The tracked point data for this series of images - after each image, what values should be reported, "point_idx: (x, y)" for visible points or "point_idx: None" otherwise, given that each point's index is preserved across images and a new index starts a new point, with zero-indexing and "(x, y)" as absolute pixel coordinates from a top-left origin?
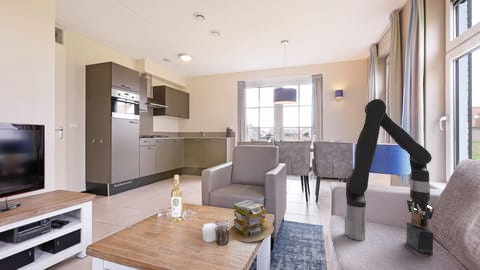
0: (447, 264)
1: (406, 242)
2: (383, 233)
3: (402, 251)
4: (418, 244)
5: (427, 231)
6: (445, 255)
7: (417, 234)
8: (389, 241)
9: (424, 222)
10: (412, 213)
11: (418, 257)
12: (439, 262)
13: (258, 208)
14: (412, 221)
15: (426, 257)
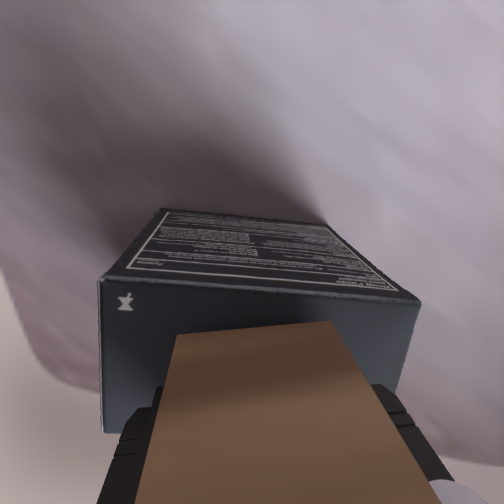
0: (24, 301)
1: (323, 225)
2: (497, 125)
3: (152, 74)
4: (148, 224)
5: (107, 380)
6: None
7: (146, 254)
8: (337, 75)
9: (111, 472)
10: (391, 497)
11: (73, 152)
12: (37, 265)
13: None
14: (318, 346)
15: (92, 220)
